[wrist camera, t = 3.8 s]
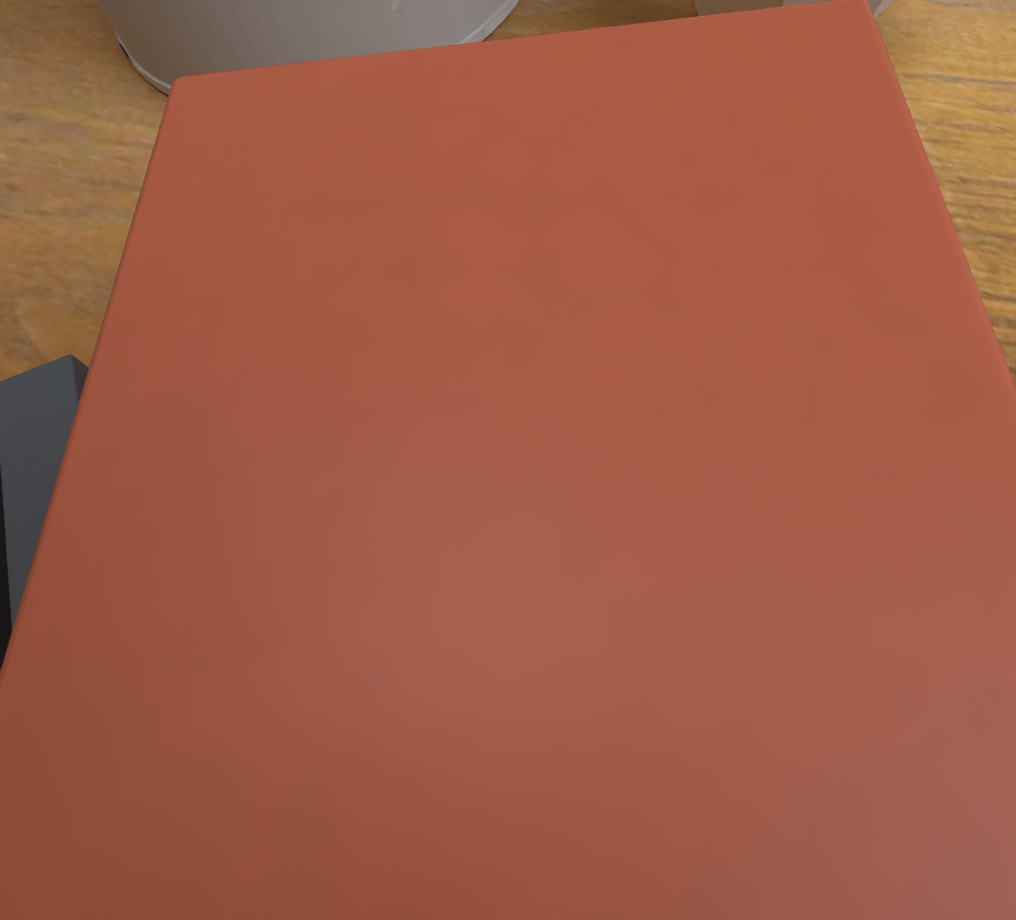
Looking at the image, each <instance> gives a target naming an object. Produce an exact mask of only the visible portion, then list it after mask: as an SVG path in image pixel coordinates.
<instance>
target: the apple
mask: <svg viewBox="0 0 1016 920" xmlns="http://www.w3.org/2000/svg"><path fill="white" fill-rule="evenodd" d="M693 1H694V4H695V7H696V10H697V14H698V16H705V15H713V14H722V13H730V12H739V11H748V10H756V9H765V8H773V7H782V6H790V5H799V4H808V3H816V2H825V1H833V0H693ZM865 1H867V2H868V3H869V6H870V9H871V11H872V14H873V16H874V19H876V18H877V17H878V16H879V15H880V14H881V13H882V12H883V11H884V10H885V9H886V8H887V7H888V6H889V5H890V4H891V3H892V2H893V1H894V0H865Z"/></svg>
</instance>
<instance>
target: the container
mask: <svg viewBox="0 0 1016 920" xmlns="http://www.w3.org/2000/svg"><path fill="white" fill-rule="evenodd" d="M519 1H520V0H96V2H97V3H98V5H99V7H100V8H101V10H102V11H103V13H104V14H105V16H106V17H107V19H108V20H109V22H110V23H111V25H112V27H113V28H114V30H115V33H116V36H117V39H118V41H119V44H120V46H121V48H122V49H123V51H124V53H125V54H126V56H127V57H128V59H129V60H130V62H131V63H132V65H133V66H134V67H135V69H136V70H137V71H138V72H139V73H140V74H141V75H142V76H143V77H144V78H145V79H146V80H147V81H148V82H149V83H151V84H152V85H153V86H155V87H156V88H157V89H159V90H160V91H162V92H164V93H165V94H167V95H169V93H170V89H171V86H172V83H173V82H174V81H175V80H176V79H178V78H180V77H182V76H190V75H198V74H207V73H216V72H224V71H233V70H241V69H250V68H258V67H267V66H276V65H284V64H293V63H301V62H310V61H319V60H327V59H336V58H344V57H353V56H361V55H370V54H379V53H387V52H396V51H404V50H413V49H422V48H430V47H439V46H447V45H456V44H464V43H473V42H481V41H483V40H484V39H485V38H486V37H487V36H489V35H490V34H491V33H492V32H493V31H494V30H495V29H496V28H497V27H498V26H499V25H500V24H501V23H502V22H503V21H504V20H505V19H506V17H507V16H508V15H509V14H510V13H511V11H512V10H513V9H514V7H515V6H516V5H517V3H518V2H519Z"/></svg>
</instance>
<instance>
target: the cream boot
mask: <svg viewBox="0 0 1016 920" xmlns="http://www.w3.org/2000/svg"><path fill="white" fill-rule="evenodd" d="M0 920H1016V387H1015V384H1014V382H1013V379H1012V376H1011V374H1010V371H1009V369H1008V366H1007V363H1006V361H1005V358H1004V356H1003V353H1002V350H1001V348H1000V345H999V343H998V340H997V337H996V335H995V332H994V329H993V327H992V324H991V322H990V319H989V316H988V314H987V311H986V309H985V306H984V303H983V301H982V298H981V296H980V293H979V290H978V288H977V285H976V283H975V280H974V277H973V275H972V272H971V269H970V267H969V264H968V262H967V259H966V256H965V254H964V251H963V249H962V246H961V243H960V241H959V238H958V236H957V233H956V230H955V228H954V225H953V223H952V220H951V217H950V215H949V212H948V210H947V207H946V204H945V202H944V199H943V196H942V194H941V191H940V189H939V186H938V183H937V181H936V178H935V176H934V173H933V170H932V168H931V165H930V163H929V160H928V157H927V155H926V152H925V150H924V147H923V144H922V142H921V139H920V136H919V134H918V131H917V129H916V126H915V123H914V121H913V118H912V116H911V113H910V110H909V108H908V105H907V103H906V100H905V97H904V95H903V92H902V90H901V87H900V84H899V82H898V79H897V76H896V74H895V71H894V69H893V66H892V63H891V61H890V58H889V56H888V53H887V50H886V48H885V45H884V43H883V40H882V37H881V35H880V32H879V30H878V27H877V24H876V22H875V19H874V16H873V14H872V11H871V9H870V6H869V3H868V2H867V1H865V0H833V1H825V2H816V3H808V4H799V5H790V6H782V7H773V8H765V9H756V10H748V11H739V12H730V13H722V14H713V15H705V16H696V17H688V18H679V19H670V20H662V21H653V22H645V23H636V24H627V25H619V26H610V27H602V28H593V29H585V30H576V31H567V32H559V33H550V34H542V35H533V36H524V37H516V38H507V39H499V40H490V41H482V42H473V43H464V44H456V45H447V46H439V47H430V48H422V49H413V50H404V51H396V52H387V53H379V54H370V55H361V56H353V57H344V58H336V59H327V60H319V61H310V62H301V63H293V64H284V65H276V66H267V67H258V68H250V69H241V70H233V71H224V72H216V73H207V74H198V75H190V76H182V77H180V78H178V79H176V80H175V81H174V82H173V83H172V86H171V89H170V93H169V96H168V100H167V103H166V107H165V110H164V113H163V117H162V120H161V124H160V127H159V131H158V134H157V137H156V141H155V144H154V148H153V151H152V154H151V158H150V161H149V165H148V168H147V172H146V175H145V178H144V182H143V185H142V189H141V192H140V196H139V199H138V202H137V206H136V209H135V213H134V216H133V219H132V223H131V226H130V230H129V233H128V237H127V240H126V243H125V247H124V250H123V254H122V257H121V261H120V264H119V267H118V271H117V274H116V278H115V281H114V285H113V288H112V291H111V295H110V298H109V302H108V305H107V308H106V312H105V315H104V319H103V322H102V326H101V329H100V332H99V336H98V339H97V343H96V346H95V350H94V353H93V356H92V360H91V363H90V367H89V370H88V373H87V377H86V380H85V384H84V387H83V391H82V394H81V397H80V401H79V404H78V408H77V411H76V415H75V418H74V421H73V425H72V428H71V432H70V435H69V438H68V442H67V445H66V449H65V452H64V456H63V459H62V462H61V466H60V469H59V473H58V476H57V480H56V483H55V486H54V490H53V493H52V497H51V500H50V503H49V507H48V510H47V514H46V517H45V521H44V524H43V527H42V531H41V534H40V538H39V541H38V545H37V548H36V551H35V555H34V558H33V562H32V565H31V568H30V572H29V575H28V579H27V582H26V586H25V589H24V592H23V596H22V599H21V603H20V606H19V610H18V613H17V616H16V620H15V623H14V627H13V630H12V634H11V637H10V640H9V644H8V647H7V651H6V654H5V657H4V661H3V664H2V668H1V671H0Z"/></svg>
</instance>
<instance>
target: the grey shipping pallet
mask: <svg viewBox="0 0 1016 920" xmlns="http://www.w3.org/2000/svg"><path fill="white" fill-rule="evenodd" d="M88 370H89V368H88V367H87V366H86V365H84V364H83V363H82V362H80V361H79V360H78V359H77V358H75V357H74V356H73V355H67V356H65V357H62V358H60V359H57V360H55V361H52V362H49V363H47V364H44V365H42V366H39V367H37V368H34V369H32V370H29V371H27V372H24V373H22V374H19V375H16V376H14V377H11V378H9V379H6V380H4V381H1V382H0V671H1V668H2V664H3V661H4V657H5V654H6V651H7V647H8V644H9V640H10V637H11V634H12V630H13V627H14V623H15V620H16V616H17V613H18V610H19V606H20V603H21V599H22V596H23V592H24V589H25V586H26V582H27V579H28V575H29V572H30V568H31V565H32V562H33V558H34V555H35V551H36V548H37V545H38V541H39V538H40V534H41V531H42V527H43V524H44V521H45V517H46V514H47V510H48V507H49V503H50V500H51V497H52V493H53V490H54V486H55V483H56V480H57V476H58V473H59V469H60V466H61V462H62V459H63V456H64V452H65V449H66V445H67V442H68V438H69V435H70V432H71V428H72V425H73V421H74V418H75V415H76V411H77V408H78V404H79V401H80V397H81V394H82V391H83V387H84V384H85V380H86V377H87V373H88Z"/></svg>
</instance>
